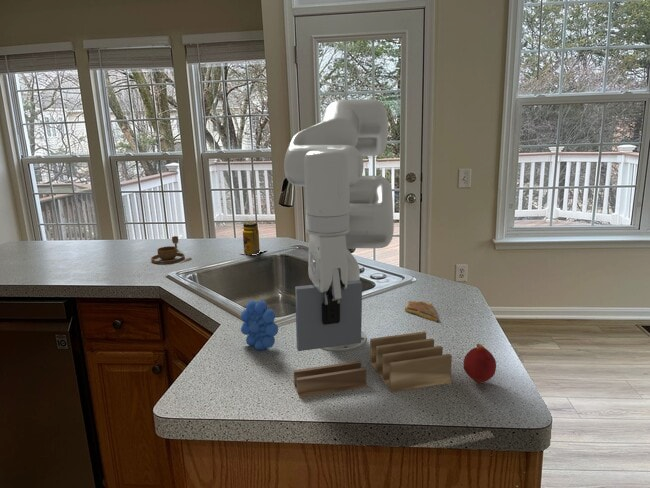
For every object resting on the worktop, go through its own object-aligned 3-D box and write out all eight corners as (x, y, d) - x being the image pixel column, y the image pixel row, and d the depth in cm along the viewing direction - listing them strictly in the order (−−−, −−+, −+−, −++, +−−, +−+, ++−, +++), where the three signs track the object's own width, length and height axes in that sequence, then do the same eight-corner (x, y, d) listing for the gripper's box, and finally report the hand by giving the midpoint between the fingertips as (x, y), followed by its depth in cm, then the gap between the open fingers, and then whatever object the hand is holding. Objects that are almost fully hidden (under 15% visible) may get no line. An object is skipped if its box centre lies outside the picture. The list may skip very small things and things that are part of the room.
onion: (487, 374, 91) (490, 336, 89) (499, 390, 85) (503, 350, 83) (458, 375, 91) (460, 337, 89) (468, 391, 85) (470, 351, 83)
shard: (438, 324, 115) (438, 317, 115) (407, 323, 116) (407, 316, 115) (431, 307, 126) (432, 301, 125) (403, 307, 126) (403, 300, 126)
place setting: (138, 263, 172) (136, 247, 170) (174, 249, 190) (173, 235, 188) (175, 267, 165) (174, 251, 164) (210, 253, 183) (208, 239, 182)
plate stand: (292, 384, 88) (292, 367, 87) (357, 374, 92) (357, 357, 91) (299, 401, 83) (298, 383, 82) (368, 390, 86) (368, 372, 85)
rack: (369, 364, 95) (369, 337, 94) (422, 356, 98) (423, 330, 97) (392, 396, 84) (392, 366, 82) (451, 386, 87) (453, 357, 85)
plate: (296, 347, 85) (295, 286, 82) (358, 339, 88) (359, 280, 85) (298, 351, 84) (296, 289, 81) (361, 342, 87) (362, 282, 84)
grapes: (292, 351, 101) (290, 300, 98) (269, 363, 96) (266, 309, 93) (258, 336, 109) (255, 288, 106) (235, 346, 104) (231, 296, 101)
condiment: (239, 254, 179) (237, 224, 176) (252, 249, 186) (250, 220, 183) (254, 256, 176) (253, 225, 173) (267, 251, 183) (266, 221, 180)
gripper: (297, 215, 86) (300, 306, 91) (317, 236, 71) (320, 343, 77) (336, 212, 88) (337, 302, 93) (363, 231, 73) (363, 337, 78)
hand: (329, 320), depth 85 cm, fingers closed on plate, 1 cm apart
